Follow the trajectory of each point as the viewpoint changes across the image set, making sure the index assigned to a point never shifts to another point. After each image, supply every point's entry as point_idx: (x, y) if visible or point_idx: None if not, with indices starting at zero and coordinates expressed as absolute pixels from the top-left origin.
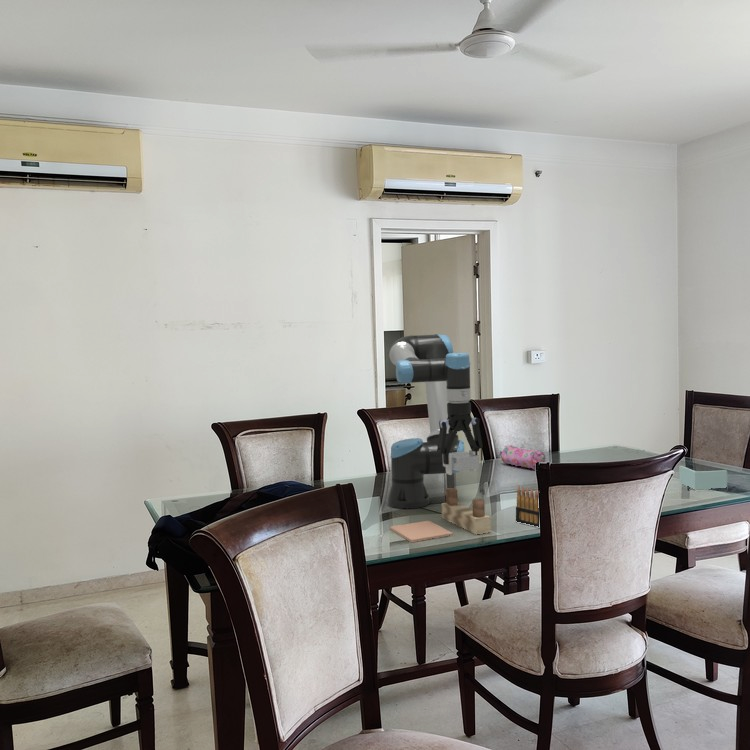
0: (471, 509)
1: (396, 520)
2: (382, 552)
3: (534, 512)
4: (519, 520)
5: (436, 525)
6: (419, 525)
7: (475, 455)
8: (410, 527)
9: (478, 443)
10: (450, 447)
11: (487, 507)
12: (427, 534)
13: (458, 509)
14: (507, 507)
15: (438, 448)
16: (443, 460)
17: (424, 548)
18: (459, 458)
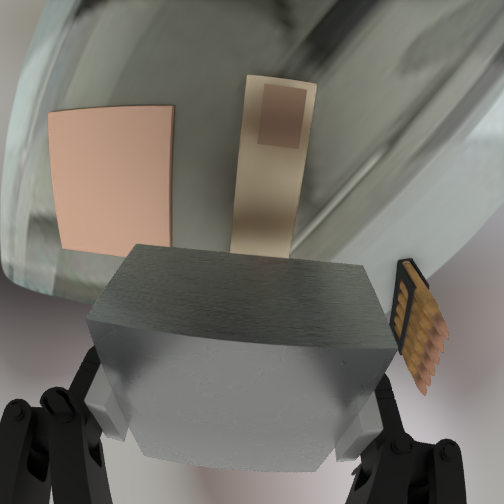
0: (287, 229)
1: (104, 29)
2: (14, 261)
3: (402, 337)
4: (399, 276)
5: (164, 173)
6: (119, 143)
7: (302, 466)
8: (89, 149)
9: (406, 501)
10: (103, 487)
11: (457, 87)
12: (106, 234)
13: (246, 200)
14: (491, 135)
15: (9, 429)
16: (83, 363)
17: (81, 290)
18: (164, 457)
